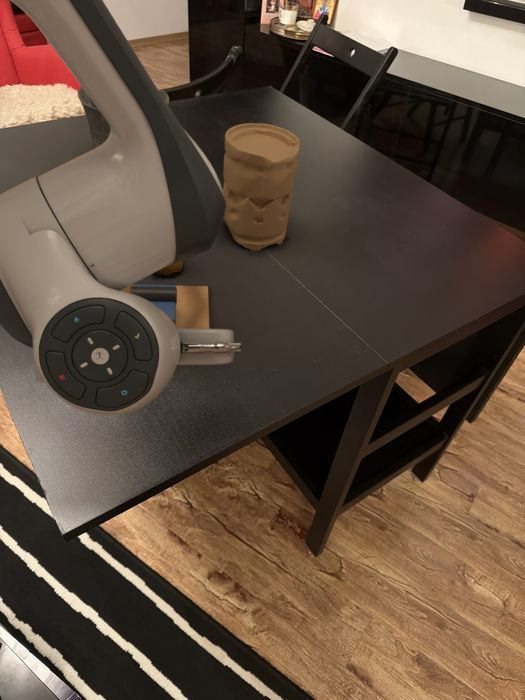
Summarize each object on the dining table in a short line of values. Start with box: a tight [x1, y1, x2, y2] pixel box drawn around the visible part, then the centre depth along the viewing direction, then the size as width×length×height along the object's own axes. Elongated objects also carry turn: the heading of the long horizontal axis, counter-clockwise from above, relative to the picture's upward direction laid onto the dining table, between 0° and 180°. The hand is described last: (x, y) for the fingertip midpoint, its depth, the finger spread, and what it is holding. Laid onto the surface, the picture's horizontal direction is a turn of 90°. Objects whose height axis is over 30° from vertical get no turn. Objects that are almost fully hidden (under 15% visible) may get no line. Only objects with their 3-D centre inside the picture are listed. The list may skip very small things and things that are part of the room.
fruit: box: [154, 260, 184, 277], centre depth 81 cm, size 8×8×4 cm
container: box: [222, 122, 301, 252], centre depth 86 cm, size 13×13×18 cm
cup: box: [77, 86, 170, 149], centre depth 99 cm, size 18×18×15 cm
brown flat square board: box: [121, 284, 210, 329], centre depth 73 cm, size 16×16×1 cm
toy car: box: [130, 283, 177, 326], centre depth 68 cm, size 6×6×12 cm
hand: (146, 344), depth 58 cm, fingers closed
